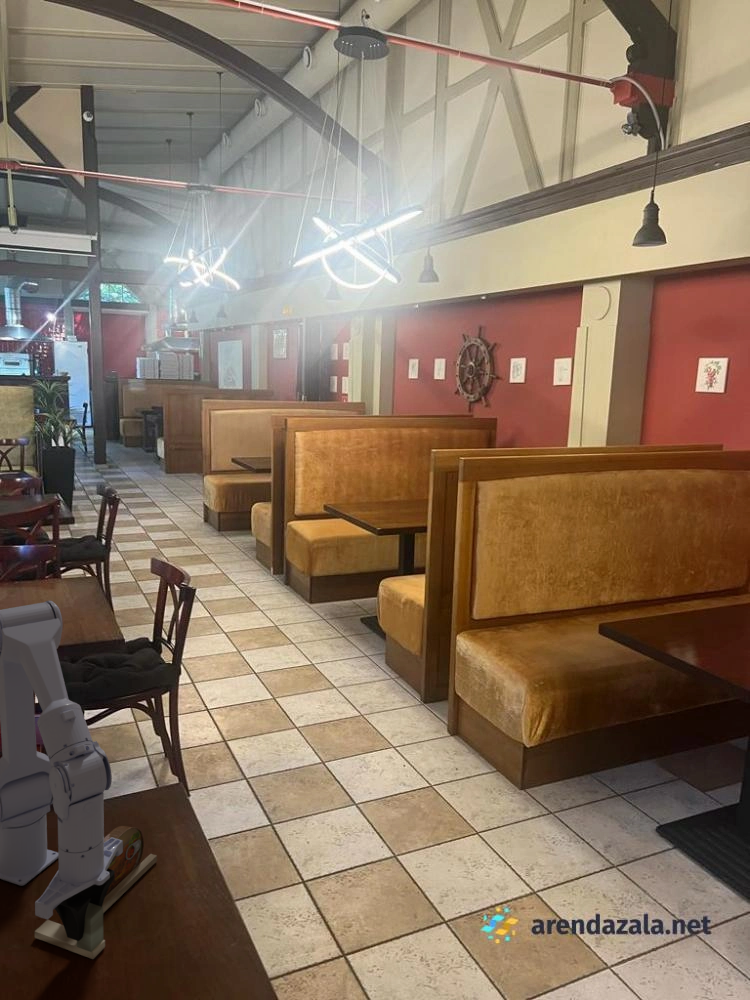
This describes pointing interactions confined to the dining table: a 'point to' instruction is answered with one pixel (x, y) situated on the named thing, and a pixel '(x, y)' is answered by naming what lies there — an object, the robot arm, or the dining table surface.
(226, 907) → the dining table surface
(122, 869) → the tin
